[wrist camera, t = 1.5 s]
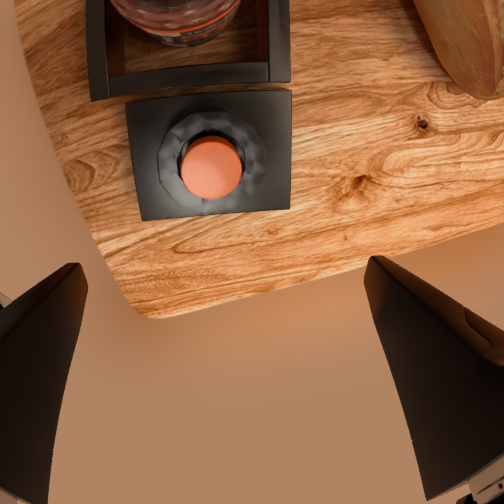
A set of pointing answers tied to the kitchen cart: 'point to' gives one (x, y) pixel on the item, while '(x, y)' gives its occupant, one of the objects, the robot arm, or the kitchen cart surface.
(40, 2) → the kitchen cart surface
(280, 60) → the rectangular frame
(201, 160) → the stop button
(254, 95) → the control block
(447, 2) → the bread roll
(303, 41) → the kitchen cart surface
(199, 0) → the supplement bottle
